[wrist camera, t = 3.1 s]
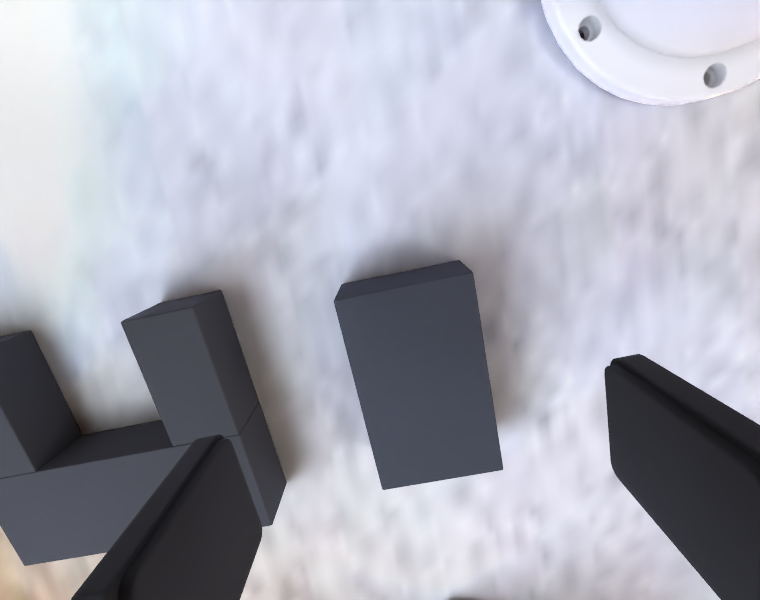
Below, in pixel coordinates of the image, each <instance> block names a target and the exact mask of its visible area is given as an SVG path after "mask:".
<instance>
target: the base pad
mask: <svg viewBox="0 0 760 600" xmlns="http://www.w3.org/2000/svg"><path fill="white" fill-rule="evenodd" d="M121 324H122V327H123V329H124V331H125V334H126V336H127V339H128V341H129V343H130V346H131V348H132V350H133V353H134V355H135V358H136V360H137V362H138V365H139V367H140V369H141V372H142V374H143V377H144V379H145V381H146V384H147V386H148V388H149V391H150V393H151V396H152V398H153V400H154V403H155V405H156V407H157V410H158V412H159V415H160V417H161V419H162V420H161V421H156V422H150V423H145V424H140V425H135V426H129V427H124V428H119V429H113V430H108V431H103V432H98V433H92V434H87V435H82V434H81V432H80V430H79V428H78V425H77V423H76V421H75V419H74V417H73V415H72V413H71V411H70V409H69V407H68V405H67V403H66V401H65V399H64V397H63V395H62V393H61V391H60V389H59V387H58V385H57V383H56V381H55V379H54V377H53V375H52V373H51V370H50V368H49V366H48V364H47V362H46V360H45V358H44V356H43V354H42V352H41V350H40V348H39V346H38V344H37V342H36V340H35V338H34V336H33V334H32V332H31V331H26V332H21V333H17V334H12V335H7V336H3V337H0V526H1V527H2V529H3V531H4V532H5V534H6V536H7V537H8V539H9V541H10V542H11V544H12V546H13V547H14V549H15V551H16V552H17V554H18V556H19V557H20V559H21V561H22V562H23V564H24V565H25V566H27V565H33V564H39V563H45V562H51V561H57V560H63V559H69V558H75V557H81V556H87V555H93V554H99V553H106V552H108V551H109V550H110V548H111V547H112V546H113V545H114V543H115V542H116V541H117V539H118V538H119V537H120V536H121V534H122V533H123V532H124V530H125V529H126V528H127V527H128V525H129V524H130V523H131V521H132V520H133V519H134V518H135V516H136V515H137V514H138V512H139V511H140V510H141V509H142V507H143V506H144V505H145V503H146V502H147V501H148V500H149V498H150V497H151V496H152V494H153V493H154V492H155V491H156V489H157V488H158V487H159V485H160V484H161V483H162V482H163V480H164V479H165V478H166V476H167V475H168V474H169V473H170V471H171V470H172V469H173V467H174V466H175V465H176V464H177V462H178V461H179V460H180V458H181V457H182V456H183V455H184V453H185V452H186V451H187V449H188V448H189V447H190V446H191V444H192V443H193V442H194V441H195V440H196V439H198V438H203V437H208V436H213V435H218V434H220V435H222V436H223V437H224V438H225V439H230V441H231V442H232V444H233V447H234V449H235V452H236V455H237V458H238V460H239V463H240V466H241V469H242V471H243V474H244V477H245V480H246V482H247V485H248V488H249V491H250V493H251V496H252V499H253V502H254V504H255V507H256V510H257V513H258V515H259V518H260V521H261V525H262V527H264V526H270V525H272V524H273V521H274V518H275V515H276V512H277V509H278V506H279V503H280V501H281V498H282V495H283V492H284V489H285V486H286V483H287V482H286V479H285V476H284V473H283V470H282V468H281V465H280V462H279V459H278V456H277V453H276V450H275V447H274V444H273V441H272V438H271V435H270V432H269V429H268V426H267V423H266V420H265V417H264V414H263V411H262V408H261V405H260V403H259V400H258V397H257V394H256V391H255V388H254V385H253V382H252V379H251V376H250V373H249V370H248V367H247V364H246V361H245V358H244V356H243V353H242V350H241V347H240V344H239V341H238V338H237V335H236V332H235V329H234V326H233V323H232V320H231V317H230V314H229V311H228V308H227V305H226V302H225V299H224V296H223V293H222V291H221V290H219V291H214V292H210V293H205V294H200V295H196V296H191V297H186V298H181V299H177V300H172V301H167V302H163V303H159V304H157V305H155V306H153V307H151V308H149V309H147V310H144V311H142V312H140V313H138V314H136V315H134V316H132V317H130V318H128V319H126V320H124V321H122V322H121ZM81 435H82V436H81Z"/></svg>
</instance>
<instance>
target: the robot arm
mask: <svg viewBox="0 0 760 600" xmlns="http://www.w3.org/2000/svg"><path fill="white" fill-rule="evenodd" d="M541 3H542V7H543V11H544V15H545V18H546V20H547V23H548V25H549V27H550V29H551V31H552V33H553V35H554V37H555V39H556V41H557V43H558V45H559V47H560V48H561V49H562V51H563V52H564V53H565V55H566V56H567V57H568V58H569V60H570V61H571V62H572V64H573V65H574V66H575V68H576V69H577V70H578V71H580V72H581V73H582V74H583V75H584V76H586V77H587V78H588V79H589V80H590V81H592V82H593V83H594V84H595V85H596V86H598V87H600V88H602V89H604V90H606V91H608V92H610V93H612V94H614V95H616V96H618V97H620V98H622V99H626V100H630V101H634V102H638V103H642V104H646V105H672V106H676V105H682V104H687V103H693V102H699V101H704V100H707V99H710V98H714V97H717V96H720V95H723V94H726V93H730V92H733V91H736V90H738V89H740V88H742V87H744V86H747V85H749V84H751V83H753V82H755V81H757V80H759V79H760V0H541ZM579 31H581V32H583V34H584V39H582V38H581V37H580V34H579ZM605 386H606V400H607V414H608V428H609V443H610V457H611V464H612V468H613V470H614V472H615V474H616V476H617V477H618V479H619V480H620V481H621V482H622V483H623V485H624V486H625V487H626V488H627V489H628V490H629V492H630V493H631V494H632V495H633V496H634V498H635V499H636V500H637V501H638V502H639V503H640V505H641V506H642V507H643V508H644V509H645V511H646V512H647V513H648V514H649V515H650V516H651V518H652V519H653V520H654V521H655V522H656V524H657V525H658V526H659V527H660V528H661V529H662V531H663V532H664V533H665V534H666V535H667V537H668V538H669V539H670V540H671V541H672V542H673V544H674V545H675V546H676V547H677V548H678V549H679V551H680V552H681V553H682V554H683V555H684V557H685V558H686V559H687V560H688V561H689V562H690V564H691V565H692V566H693V567H694V568H695V570H696V571H697V572H698V573H699V574H700V575H701V577H702V578H703V579H704V580H705V581H706V583H707V584H708V585H709V586H710V587H711V588H712V590H713V591H714V592H715V593H716V594H717V596H718V597H719V598H720V599H721V600H760V425H759V424H757V423H755V422H754V421H752V420H750V419H749V418H747V417H745V416H744V415H742V414H740V413H739V412H737V411H735V410H734V409H732V408H730V407H729V406H727V405H725V404H724V403H722V402H720V401H718V400H717V399H715V398H713V397H712V396H710V395H708V394H707V393H705V392H703V391H702V390H700V389H698V388H697V387H695V386H693V385H692V384H690V383H688V382H687V381H685V380H683V379H682V378H680V377H678V376H677V375H675V374H673V373H672V372H670V371H668V370H667V369H665V368H663V367H662V366H660V365H658V364H657V363H655V362H653V361H651V360H650V359H648V358H646V357H645V356H643V355H640V354H636V355H631V356H626V357H621V358H615V359H613V360H612V361H611V364H610V366H607V367H606V368H605ZM261 537H262V525H261V521H260V518H259V515H258V513H257V510H256V507H255V504H254V502H253V499H252V496H251V493H250V491H249V488H248V485H247V482H246V480H245V477H244V474H243V471H242V469H241V466H240V463H239V460H238V458H237V455H236V452H235V449H234V447H233V444H232V442H231V441H230V439H225V438H224V437H223V436H222V435H220V434H218V435H213V436H208V437H203V438H198V439H196V440H195V441H194V442H193V443H192V444H191V446H190V447H189V448H188V449H187V451H186V452H185V453H184V455H183V456H182V457H181V458H180V460H179V461H178V462H177V464H176V465H175V466H174V467H173V469H172V470H171V471H170V473H169V474H168V475H167V476H166V478H165V479H164V480H163V482H162V483H161V484H160V485H159V487H158V488H157V489H156V491H155V492H154V493H153V494H152V496H151V497H150V498H149V500H148V501H147V502H146V503H145V505H144V506H143V507H142V509H141V510H140V511H139V512H138V514H137V515H136V516H135V518H134V519H133V520H132V521H131V523H130V524H129V525H128V527H127V528H126V529H125V530H124V532H123V533H122V534H121V536H120V537H119V538H118V539H117V541H116V542H115V543H114V545H113V546H112V547H111V548H110V550H109V551H108V552H107V554H106V555H105V556H104V557H103V559H102V560H101V561H100V563H99V564H98V565H97V566H96V568H95V569H94V570H93V572H92V573H91V574H90V575H89V577H88V578H87V579H86V581H85V582H84V583H83V584H82V586H81V587H80V588H79V590H78V591H77V592H76V593H75V595H74V596H73V597H72V599H71V600H240V597H241V594H242V592H243V589H244V586H245V583H246V580H247V578H248V575H249V572H250V569H251V566H252V564H253V561H254V558H255V555H256V552H257V549H258V547H259V544H260V541H261Z"/></svg>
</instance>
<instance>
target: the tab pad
mask: <svg viewBox="0 0 760 600" xmlns="http://www.w3.org/2000/svg"><path fill="white" fill-rule="evenodd" d="M334 304H335V308H336V312H337V315H338V319H339V323H340V327H341V331H342V335H343V339H344V342H345V346H346V350H347V354H348V358H349V362H350V366H351V370H352V373H353V377H354V381H355V385H356V389H357V393H358V397H359V401H360V404H361V408H362V412H363V416H364V420H365V424H366V428H367V431H368V435H369V439H370V443H371V447H372V451H373V455H374V459H375V462H376V466H377V470H378V474H379V478H380V482H381V486H382V489H383V490H386V489H391V488H397V487H403V486H409V485H415V484H421V483H427V482H433V481H439V480H445V479H451V478H457V477H463V476H469V475H475V474H481V473H487V472H493V471H499V470H503V465H502V458H501V451H500V445H499V438H498V432H497V425H496V419H495V412H494V406H493V399H492V393H491V386H490V380H489V373H488V367H487V360H486V354H485V347H484V341H483V334H482V327H481V321H480V314H479V308H478V301H477V295H476V288H475V282H474V275H473V272H472V271H471V270H470V269H469V268H467V267H466V266H465V265H464V264H463V263H462V262H461V261H460V260H457V261H453V262H448V263H443V264H438V265H433V266H429V267H424V268H419V269H414V270H409V271H405V272H400V273H395V274H390V275H385V276H381V277H376V278H371V279H366V280H362V281H357V282H352V283H347V284H342V285H341V287H340V289H339V292H338V294H337V296H336V298H335V300H334Z"/></svg>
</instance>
